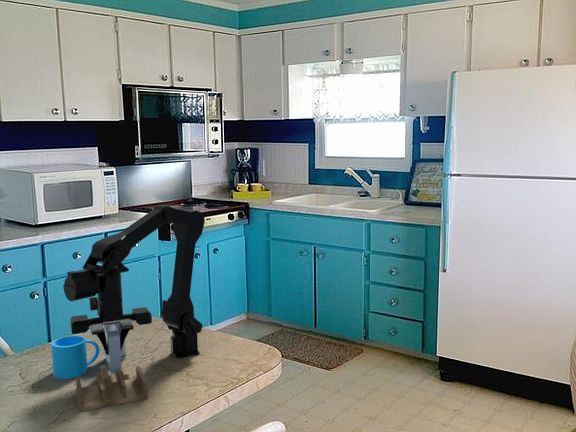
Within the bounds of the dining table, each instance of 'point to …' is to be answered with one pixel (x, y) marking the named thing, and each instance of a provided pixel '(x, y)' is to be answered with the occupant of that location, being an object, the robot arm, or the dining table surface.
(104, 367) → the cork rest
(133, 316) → the robot arm
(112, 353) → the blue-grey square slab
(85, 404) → the rack
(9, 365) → the dining table surface
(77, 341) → the mug
